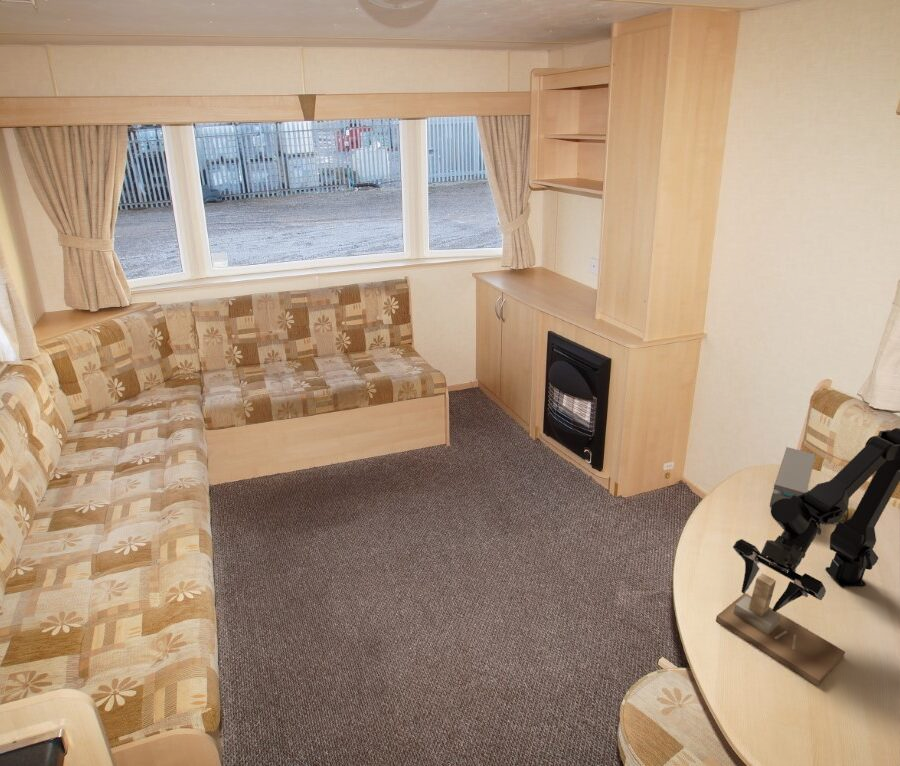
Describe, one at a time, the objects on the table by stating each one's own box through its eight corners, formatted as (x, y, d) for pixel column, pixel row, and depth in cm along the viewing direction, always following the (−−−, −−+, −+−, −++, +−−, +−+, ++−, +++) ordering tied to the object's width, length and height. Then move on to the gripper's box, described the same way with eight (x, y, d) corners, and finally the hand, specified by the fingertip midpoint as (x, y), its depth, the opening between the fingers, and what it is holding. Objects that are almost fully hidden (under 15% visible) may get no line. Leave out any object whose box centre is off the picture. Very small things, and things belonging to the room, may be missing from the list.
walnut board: (715, 620, 144) (716, 615, 143) (743, 597, 150) (744, 592, 150) (817, 686, 128) (819, 680, 127) (843, 656, 135) (845, 651, 134)
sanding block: (733, 612, 144) (743, 573, 139) (743, 604, 146) (753, 565, 142) (768, 634, 138) (779, 594, 134) (778, 625, 141) (790, 585, 136)
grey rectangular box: (796, 527, 176) (806, 493, 172) (765, 517, 180) (774, 484, 176) (806, 485, 196) (815, 454, 191) (778, 477, 200) (786, 447, 195)
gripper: (746, 508, 142) (708, 567, 140) (834, 551, 129) (793, 618, 127) (757, 525, 150) (721, 581, 148) (841, 568, 136) (803, 631, 135)
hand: (757, 601), depth 139 cm, fingers open, 7 cm apart
